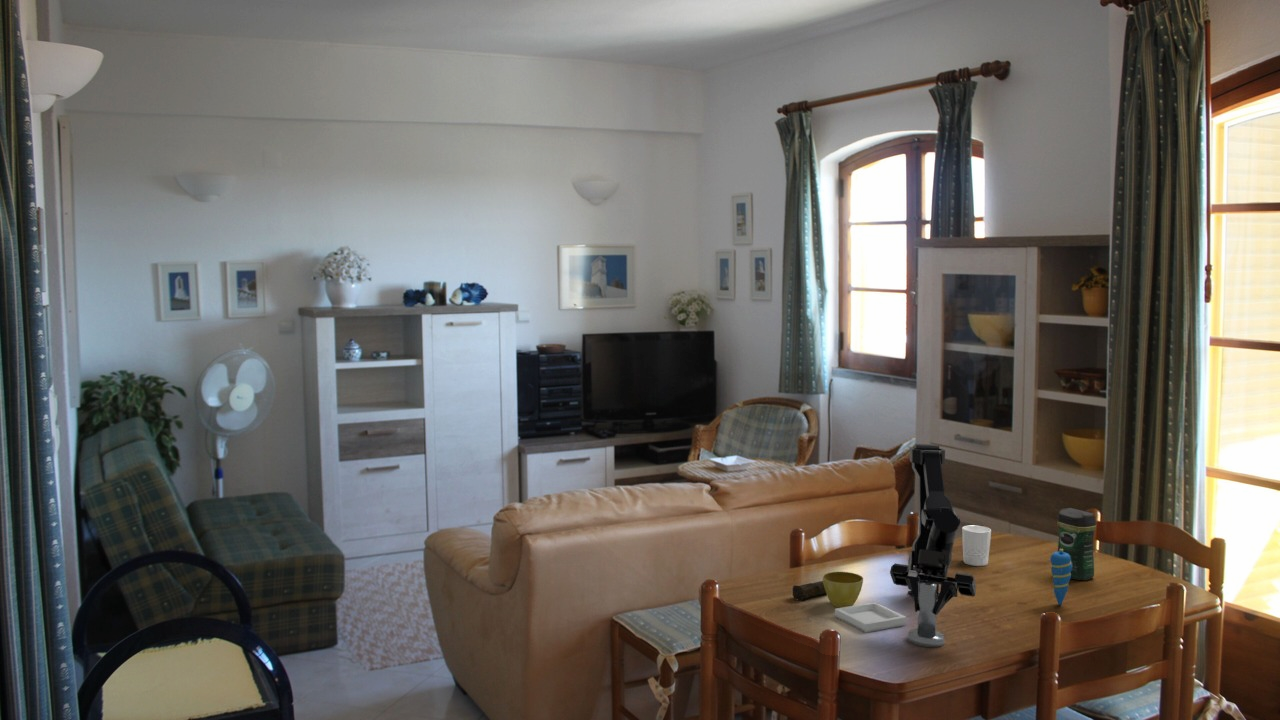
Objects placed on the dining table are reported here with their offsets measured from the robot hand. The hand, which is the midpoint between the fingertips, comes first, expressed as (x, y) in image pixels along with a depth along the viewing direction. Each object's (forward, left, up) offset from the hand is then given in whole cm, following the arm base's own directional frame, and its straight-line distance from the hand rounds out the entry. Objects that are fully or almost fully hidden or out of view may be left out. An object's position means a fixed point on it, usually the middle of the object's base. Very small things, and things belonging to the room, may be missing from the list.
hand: (925, 612), depth 234 cm
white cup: (-56, -43, -7) cm, 71 cm away
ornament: (-49, -6, -7) cm, 50 cm away
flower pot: (+1, -29, -7) cm, 30 cm away
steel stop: (-1, -1, -7) cm, 7 cm away
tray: (+2, -17, -7) cm, 18 cm away
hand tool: (0, -39, -8) cm, 40 cm away
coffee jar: (-72, -22, -7) cm, 75 cm away
